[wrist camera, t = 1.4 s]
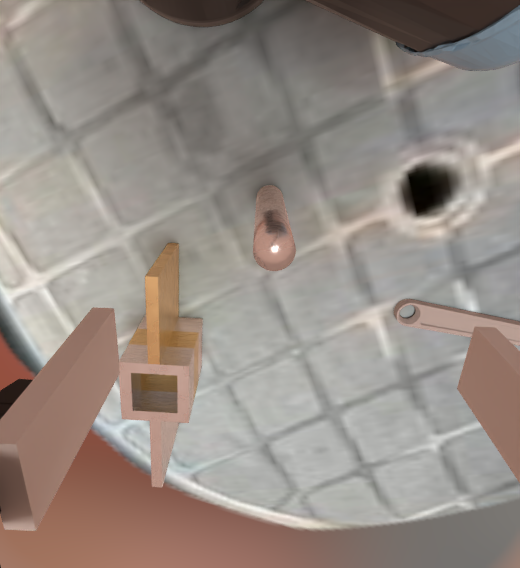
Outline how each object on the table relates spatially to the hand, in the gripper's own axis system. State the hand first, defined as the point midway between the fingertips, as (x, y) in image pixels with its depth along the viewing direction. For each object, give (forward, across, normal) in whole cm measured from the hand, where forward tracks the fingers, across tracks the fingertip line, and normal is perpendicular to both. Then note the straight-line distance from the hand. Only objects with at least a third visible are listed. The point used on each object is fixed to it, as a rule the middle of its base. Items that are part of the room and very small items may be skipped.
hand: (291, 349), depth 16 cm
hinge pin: (+26, -1, 0) cm, 26 cm away
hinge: (+26, -10, -16) cm, 32 cm away
